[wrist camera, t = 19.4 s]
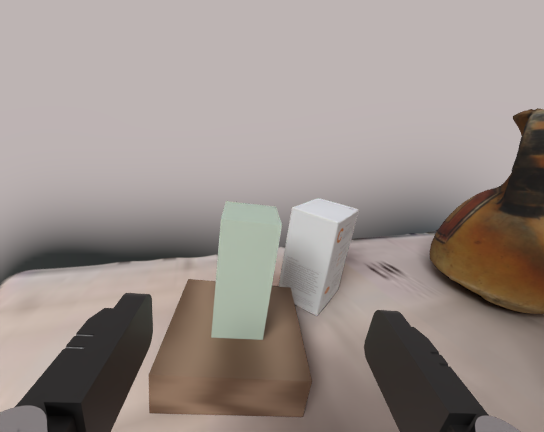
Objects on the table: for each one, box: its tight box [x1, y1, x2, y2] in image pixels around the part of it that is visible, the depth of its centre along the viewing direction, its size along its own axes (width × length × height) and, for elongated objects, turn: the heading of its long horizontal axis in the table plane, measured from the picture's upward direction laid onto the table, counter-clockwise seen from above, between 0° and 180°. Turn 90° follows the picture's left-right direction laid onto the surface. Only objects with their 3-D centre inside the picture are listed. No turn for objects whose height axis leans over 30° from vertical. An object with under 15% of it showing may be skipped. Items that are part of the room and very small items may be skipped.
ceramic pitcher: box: [430, 109, 544, 314], centre depth 41 cm, size 20×20×30 cm
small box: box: [279, 198, 359, 316], centre depth 35 cm, size 8×6×13 cm
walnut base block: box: [149, 279, 312, 417], centre depth 25 cm, size 12×12×4 cm
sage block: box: [211, 201, 282, 340], centre depth 23 cm, size 4×4×11 cm
